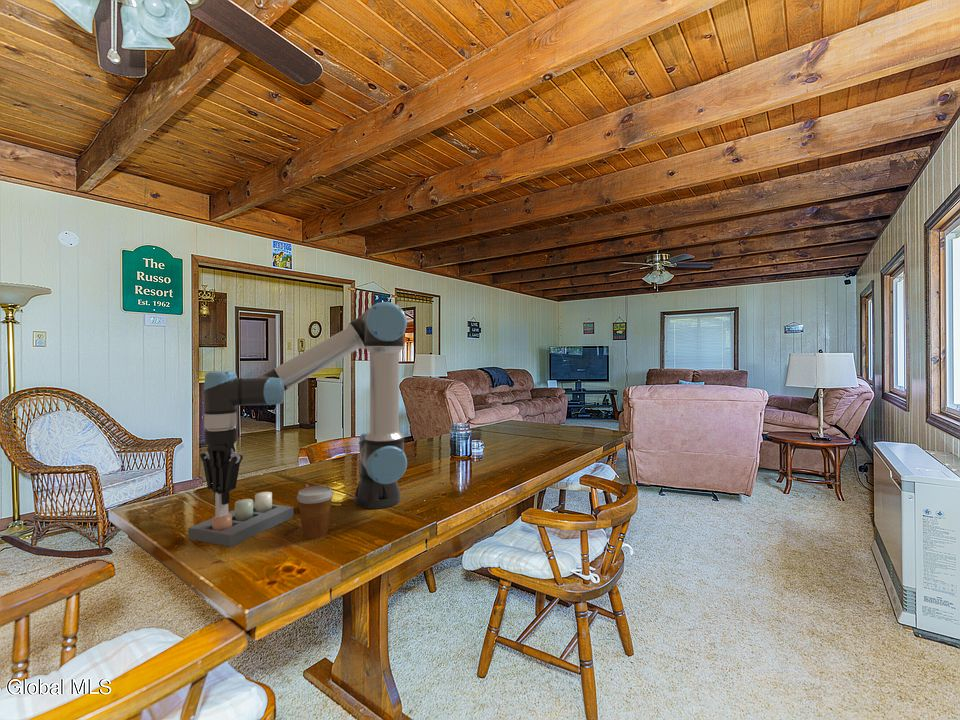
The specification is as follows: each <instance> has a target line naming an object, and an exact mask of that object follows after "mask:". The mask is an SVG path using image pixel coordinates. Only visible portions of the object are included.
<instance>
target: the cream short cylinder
mask: <svg viewBox="0 0 960 720" xmlns="http://www.w3.org/2000/svg"><path fill="white" fill-rule="evenodd" d="M254 502H255V512H260V513H265V512H267V511H269V510H272V504H273V492H272V491H260V492H257V493H256V494H254Z"/></svg>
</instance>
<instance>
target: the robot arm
mask: <svg viewBox="0 0 960 720" xmlns="http://www.w3.org/2000/svg"><path fill="white" fill-rule="evenodd" d="M407 326H408V320H407V315H406V314H405V311H404V310H403V309H402V308H401V307H400V306H399V305H398V304H396V303H393V302H389V301H383V302H382V301H380V302H376V303H375V304H373V305H371V306H370V307H369V308H368V309H366V310H365V312H363V313H362V314H361V315H360V316H357V318H356V319H353V320H352V321H351V322H349V323H348V324H347V326H346V327H345V329H343V330H341V331H339V332H337V333H335V334H334V335H332V336H330V337H328V338H326V339H324V340H323V341H321V342H319V343H318V344H316V345H314V346H312V347H310V348H309V349H307V350H304V351H303V352H301V353H300V354H298V355H296V356H294V357H293V358H290V359H289V360H287V361H285V362H284V363H281V364H280V365H278V366H277V367H275V368H273V369H271V370H269V371H267V372H266V373H264V374H261V375H259V376H258V377H251V378H241V377H238V376H237V372H236V371H233V370H230V371H229V370H220V371H218V370H217V371H208V372H206V374H205V375H204V385H203V397H204V398H203V401H204V402H203V403H204V404H203V405H204V417H203V419H204V422H203V423H204V425H203V429H205V431H204V444H205V445H206V446H207V447H206V451H205V452H203V453H200V454H199V455H200V456H199V457H200V459H201V461H202V464H203V468H204V469H203V470H204V475H205V480H206V487H207V490H211V491H212V492H213V498H214V499H213V502H214V506H215V508H214V509H215V514H214V516H215V517H218V518H220V517H223V516H226V515H228V512H229V504H230V491H233V490H236V488H237V482H238V476H239V471H240V465H241V463H242V460H243V459H244V456H243V454H238V453H237V452H236V447H235V444H236V442H237V441H238V440H237V439H238V430H237V428H236V427H237V425H238V422H237V419H238V417H237V409H238V408H237V407H239V406H240V407H242V406H243V407H244V406H272V405H274V406H275V405H281V404H283V403H284V402H285V392H286V391H288V390H289V389H291V388H292V387H295V386H296V385H298V384H299V383H301V382H303V381H305V380H307V379H308V378H310V377H311V376H314V375H315V374H317V373H319V372H321V371H322V370H324V369H326V368H328V367H329V366H331V365H332V364H335V363H336V362H339V361H340V360H341V359H343V358H345V357H346V356H348V355H350V354H352V353H354V352H355V351H357V350H359V349H360V350H361V349H362V350H367V351H368V352H369V419H370V420H369V432H365V433H364V432H363V433H361V434H360V435H359V440H358V445H359V450H358V451H359V456H358V458H359V479H358V484H357V487H356V488H355V489H356V490H355V493H354V497H353V499H354V500H353V501H354V502H353V503H354V505H355V506H357V507H359V508H364V509H383V508H389V507H392V506H394V505H397V504H399V503H400V502H401V501H402V500H401V499H402V497H401V496H402V494H401V493H402V492H401V490H400V487H399V484H398V481H399V480H400V479H401V478H402V477H403V475H405V472H406V470H407V467H408V459H407V455H406V453H405V436H404V434H403V433H401V431H400V421H399V420H400V417H399V416H400V411H399V410H400V409H399V407H400V397H399V395H400V394H399V392H400V388H399V387H400V386H399V385H400V383H399V382H400V379H399V378H400V375H399V373H400V372H399V371H400V369H399V364H400V363H399V361H400V360H399V358H400V357H399V353H400V352H401V350H403V349H404V343H405V340H404V339H405V338H404V337H405V333H406V329H407Z"/></svg>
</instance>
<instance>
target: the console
mask: <svg viewBox="0 0 960 720" xmlns="http://www.w3.org/2000/svg"><path fill="white" fill-rule="evenodd" d="M228 514H232V527H229V528H227V529H225V530H222V531H217V530H213V528H212V518H210V519H207V520H204V521H202V522H200V523H199V522H198V523H197V524H194V525H192V526H190V527H188V528H187V529H188V530H187V531H188V540H192V539H193V540H192V541H198V542H203V543H209V544H214V545H218V546H224V547H228V548H231V547H234V546H236V545H237V544H240V543H243V542H244V541H246V540H249V539H250V538H252V537H254V536H257V535H258V534H261V533H264V532H265V531H267V530H269V529H271V528H273V527H276V526H277V525H279V524H282V523H283V522H287V521H289V520H290V519H293V518H294V507H293V506H288V505H280V504H276V503H275V504H274V503H272V510H269V511H267V512H265V513H260V512H255V501H253V518H251V519H248V520H246V521H244V522H243V521H237V520H235V509H234V510H230V511H228Z"/></svg>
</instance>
